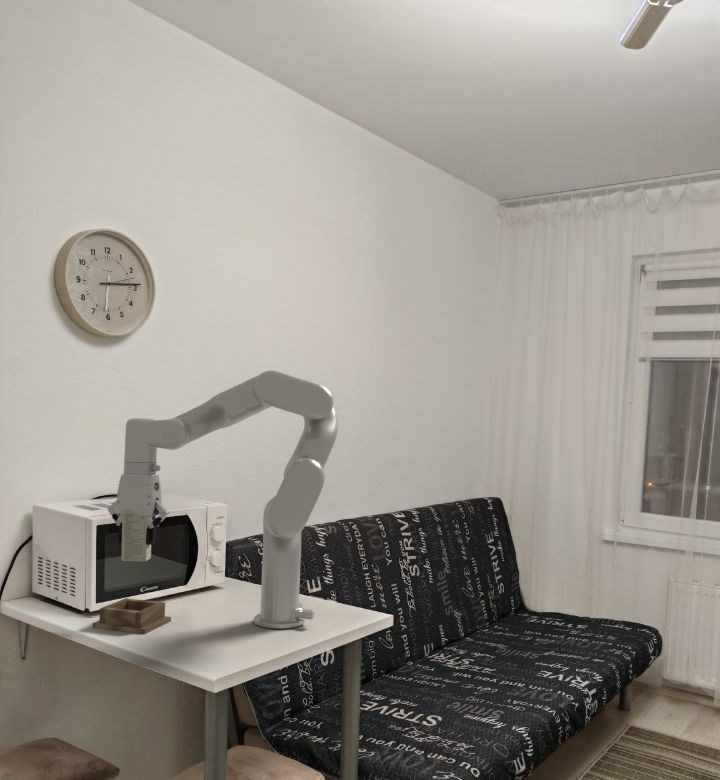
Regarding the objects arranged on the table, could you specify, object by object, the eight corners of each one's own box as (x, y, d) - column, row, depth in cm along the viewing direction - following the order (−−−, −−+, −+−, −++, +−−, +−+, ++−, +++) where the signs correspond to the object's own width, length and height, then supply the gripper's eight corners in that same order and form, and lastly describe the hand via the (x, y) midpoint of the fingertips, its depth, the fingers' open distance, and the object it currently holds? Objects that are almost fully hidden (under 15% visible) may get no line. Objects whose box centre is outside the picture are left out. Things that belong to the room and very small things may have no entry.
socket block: (170, 621, 191) (171, 602, 191) (145, 633, 179) (145, 614, 179) (120, 615, 194) (121, 597, 195) (92, 627, 183) (93, 608, 183)
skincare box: (151, 558, 189) (153, 508, 190) (146, 562, 185) (148, 511, 185) (125, 557, 189) (127, 507, 190) (119, 561, 185) (122, 510, 185)
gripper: (179, 470, 189) (176, 543, 189) (117, 466, 194) (113, 537, 193) (164, 472, 182) (160, 548, 181) (99, 468, 187) (96, 542, 186)
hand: (136, 542), depth 187 cm, fingers closed on skincare box, 6 cm apart
